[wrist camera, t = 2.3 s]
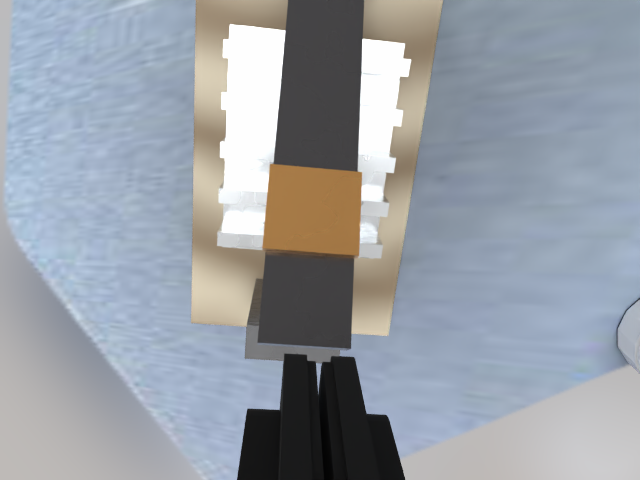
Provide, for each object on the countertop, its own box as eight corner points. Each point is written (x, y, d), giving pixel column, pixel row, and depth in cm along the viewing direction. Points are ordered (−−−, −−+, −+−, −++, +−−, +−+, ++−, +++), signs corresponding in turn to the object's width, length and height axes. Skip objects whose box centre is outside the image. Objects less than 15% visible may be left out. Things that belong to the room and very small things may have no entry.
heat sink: (238, -94, 24) (219, -142, 19) (415, -71, 25) (449, -111, 19) (223, 304, 32) (206, 356, 26) (361, 313, 32) (374, 366, 27)
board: (204, -98, 26) (197, -110, 24) (444, -67, 27) (455, -77, 25) (197, 308, 34) (191, 322, 32) (383, 321, 35) (388, 335, 33)
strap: (284, -76, 22) (285, -108, 20) (374, -65, 22) (381, -96, 20) (243, 344, 17) (240, 340, 15) (360, 351, 17) (368, 348, 15)
